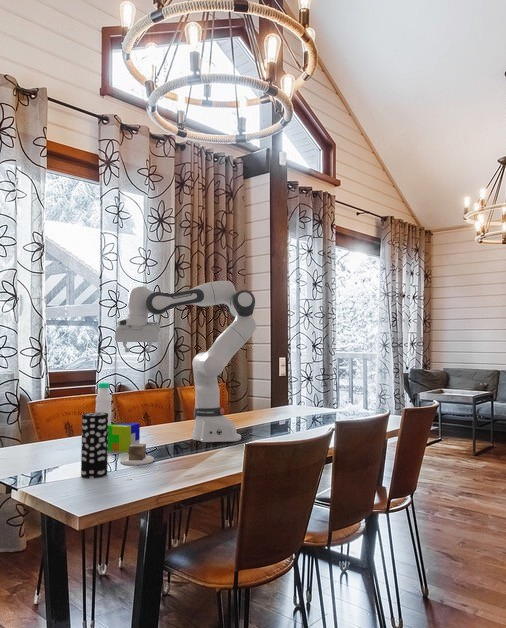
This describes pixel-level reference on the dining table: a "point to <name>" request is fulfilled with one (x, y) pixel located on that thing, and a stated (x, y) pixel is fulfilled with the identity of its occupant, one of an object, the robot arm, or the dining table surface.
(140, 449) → the walnut block
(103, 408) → the water bottle
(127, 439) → the puzzle toy
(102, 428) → the spotted tube
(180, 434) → the dining table surface
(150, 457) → the saucer
